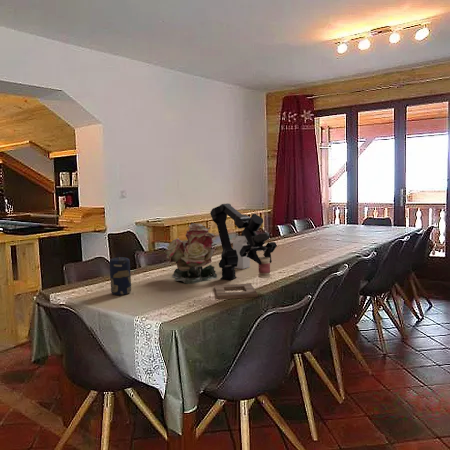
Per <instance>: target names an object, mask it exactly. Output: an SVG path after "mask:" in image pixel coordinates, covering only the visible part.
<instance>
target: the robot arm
mask: <svg viewBox="0 0 450 450" xmlns="http://www.w3.org/2000/svg"><path fill="white" fill-rule="evenodd" d="M210 216H211V219H212V221H213V223H214V224H216V228H217V231H218V235H219V239H220V245H221V248H222V252H221V254H220V258H221V259H220V261H219V262H218V267H219V268H220V269H221V277H220V280H228V281H231V280H233V279H237V276H236V268H235V267H237V264H238V255H237V251H236V250H234V249H233V246H232V243H231V240H230V239H231V238H230V236H229V235H230V234H229V231H228V226H227V223H226V221H227V218H228V217H229V218H230V219H232V220H233V221H234V225H235V227H236V228H237V229H240V230H241V229H243V230H241V235H240V236H245V238H246V239H247V241H248V242H247V245H244V246H243V247H242V248H241V250H240V252H239V254H240V256H241V257H245V256H246V255H247V257H249V258H250V260H252V261H254V263H257V264H260V265H261V261H260V259H259V255H258V252H263V254H262V255H263V257H270V264H272V253H274V251H275V249H276V248H277V247H278V245H277V243H276V242H275V241H270V242H267V243H265V242H266V241H269V240H270V238H271V235H270V233H269V232H268V231H265V232H263V233H257V232H258V231H259V230H260V228H261V226H262V225H263V223H264V218H263V217H261V216H260V215H258V214H257V213H252V214H251V216H249V215H247V214H243V213H241V212H240V211H238V210H237V209H236V208H235V207H233V205H231V203H221V204H219V205H218V206H216V207H214V208H212V209H211V210H210ZM265 244H266V245H265ZM246 252H247V253H246Z"/></svg>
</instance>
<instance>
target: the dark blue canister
mask: <svg viewBox="0 0 450 450" xmlns="http://www.w3.org/2000/svg"><path fill="white" fill-rule="evenodd" d="M130 261H131V260H130V258H128V257H122V256H118V257H113V258H110V259H109V262H108V264H109V278H110V279H109V280H110V292H111V294H112V295H118V296H122V295H127V294H129V293H131V292H132V275H131V262H130Z"/></svg>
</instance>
